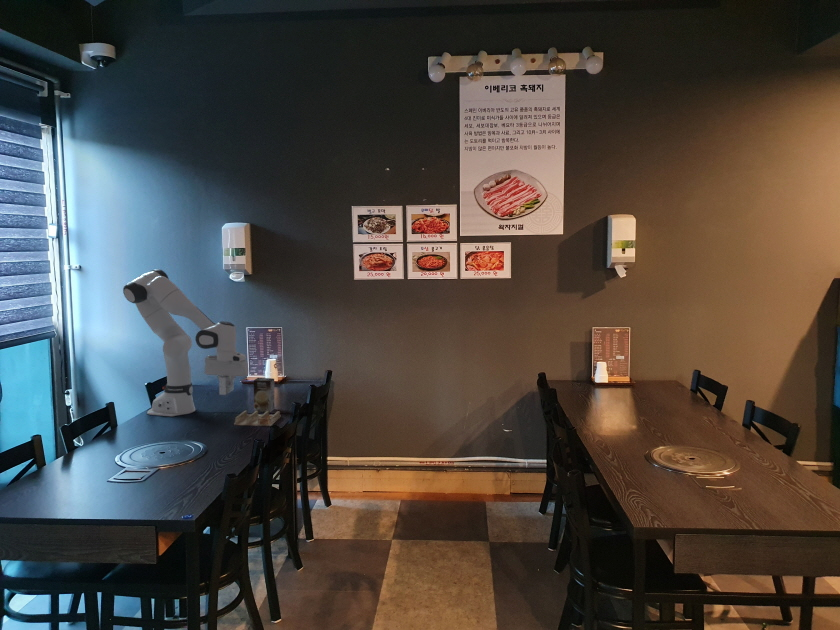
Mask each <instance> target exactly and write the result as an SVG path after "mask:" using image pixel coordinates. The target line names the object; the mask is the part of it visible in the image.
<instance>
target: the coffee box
mask: <svg viewBox="0 0 840 630" xmlns="http://www.w3.org/2000/svg"><path fill="white" fill-rule="evenodd" d="M275 398H276V397H275V378H270V377H257V378H255V379H254V380H253V411H254V412H255V411H258V413H259V412H260V413H261V412H262V413H263V412H264V413H265V412H266V411H269V413H271V412H273V411H274V410H275V408H276V407H275V405H276V403H275V400H276V399H275Z"/></svg>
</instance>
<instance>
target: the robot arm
mask: <svg viewBox="0 0 840 630" xmlns="http://www.w3.org/2000/svg"><path fill="white" fill-rule="evenodd" d="M122 292H123V296H124V297H125V299H126V300H127V301H128V302H129V303H132V304H135V306H136V308H137V311H138V312H139V314H140V315H141V317H142V318H143V320H144V321H145V322H146V324H147V325H148V327H149V328H150V329H151V331H152V332H153V333H154V334H155V335H156V336H158V337H159V338H160V340H162V341H163V344H162V352H163V357H164V362H165V367H166V380H167V381H166V382H167V383H166V384H165V385H163V386H162V390H164V391H163V392H162V393H161V394H159V395H158V396H157V397H155V399H153V401H152V405H151V408H150V409H149V410H147V413H146V414H147V415H151V416H152V415H153V416H164V417H175V416H182V415H183V416H184V415H188V414H192V413H194V412H196V410H197V408H196V407H195V403H194V399H193V390H194V389H193V383H192V371H191V369H192V368H191V364H190V359H189V351H190V350H191V349H192V346H193V342H192V339H191V337H190V336H189V335H188V334H187V333H186V332H185V330H184V329H183V328H182V327H181V326H180V324H179V323H177V322H176V321H175V319H174V318H173V317H172V315H174V316H179V317H183V318H186V319H189V320H190V321H191V322H193V323H194V325H196V327H198V328H199V329H200V330H199V331H198V332H197V333H196V335H195V343H196V345H197V346H198V347H199V348H200V349H203V350H209V349H214V348H215V349H216V355H207V356H205V358H204V374H205V375H206V376H217V380H218V381H219V378H220V377H222V376H231V378H232V380H231V381H229V385H233V381H235V379H236V377H246V376H248V375H249V363H248V361H247V360H246V359H247V355H246V354H244V353H241V352H238V351H237V348H236V347H237V346H236V343H237V330H236V327H235V324H234V323H232V322H229V321H223V320H222V321H218V322H217V323H215V322H214V321H212V320H211V319H210V318H209V317H208V316H207V315H206V314H205V313H204V312H203V311H202V310H201V309H199V307H198V306H196V305H195V304H194V302H192V301H191V300H190V299H189V298H188V297H187V295H185V293H183V291H182V290H181V289H180V288H179V287H178V286H177V284H175V283H173V282H172V281H171V280H170V278H169V275H168V274H167V272H165V271H164V270H162V269H159V268H157V269H152V270H150V271H148V272H145V273H143V274H140V275H139V276H137V278H136V277H135V279H133V280H131V281H129V282H127V283H126V284H125V285H124V286H123V288H122Z"/></svg>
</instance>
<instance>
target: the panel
mask: <svg viewBox="0 0 840 630" xmlns="http://www.w3.org/2000/svg"><path fill="white" fill-rule="evenodd" d="M231 380H232V378H231V376H222V377H220V378H219V380H218V382H219V383H218V385H219V386H218V389H219V393H218V394H219V396H220V395H221V396H227V395H229V393H231V392H233V391H234V388H235V387H234V381H235V380H234V381H233V385H229V381H231Z"/></svg>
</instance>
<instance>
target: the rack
mask: <svg viewBox="0 0 840 630" xmlns="http://www.w3.org/2000/svg"><path fill="white" fill-rule="evenodd" d="M281 417H282V416H281V412H280V410H279V411H278V410H277V411H276V412H275V413H274V414H270V412H269V411H266V412H264V413H262V414H259V411H254V412H253V413H251V414H248V410H244V411H242V412H241V413H240V414H238V415H237V416H236V417H235V418H234V423H233V424H234V426H257V427H259V426H260V427H261V426H263V427H271V426H273V424H274V423H276V422H277V421H278V420H279V419H280V418H281Z"/></svg>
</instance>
